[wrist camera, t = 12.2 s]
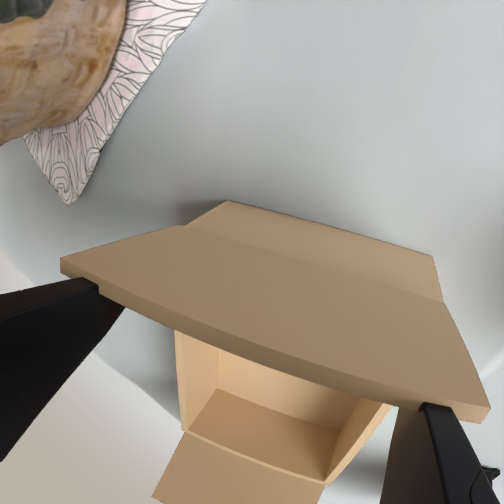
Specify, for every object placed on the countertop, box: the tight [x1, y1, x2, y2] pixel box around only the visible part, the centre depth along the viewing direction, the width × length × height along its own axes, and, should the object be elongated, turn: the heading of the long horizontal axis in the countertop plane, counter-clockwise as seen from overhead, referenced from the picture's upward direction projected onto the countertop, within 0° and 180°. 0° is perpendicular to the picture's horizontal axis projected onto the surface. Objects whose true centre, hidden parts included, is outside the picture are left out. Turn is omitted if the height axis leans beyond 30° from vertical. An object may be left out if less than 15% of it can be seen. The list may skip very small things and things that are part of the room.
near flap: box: [60, 225, 491, 424], centre depth 10 cm, size 7×12×1 cm
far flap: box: [152, 432, 325, 504], centre depth 20 cm, size 7×12×1 cm
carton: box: [174, 200, 444, 486], centre depth 20 cm, size 18×13×6 cm
